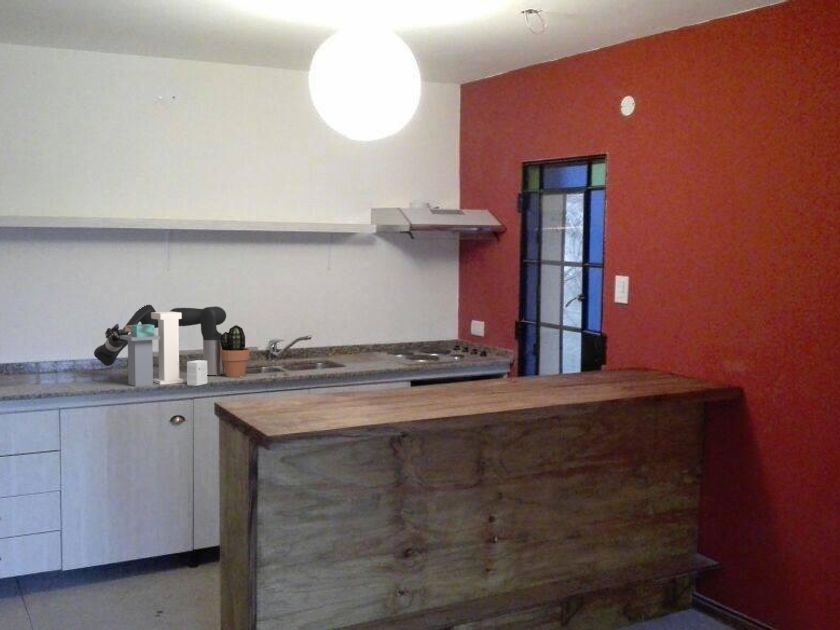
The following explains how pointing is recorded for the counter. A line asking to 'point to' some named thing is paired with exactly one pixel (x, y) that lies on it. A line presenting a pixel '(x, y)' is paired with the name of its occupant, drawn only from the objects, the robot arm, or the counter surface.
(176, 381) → the tall stand
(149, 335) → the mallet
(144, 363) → the pedestal
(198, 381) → the small box
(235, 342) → the potted plant
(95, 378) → the counter surface
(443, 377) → the counter surface
